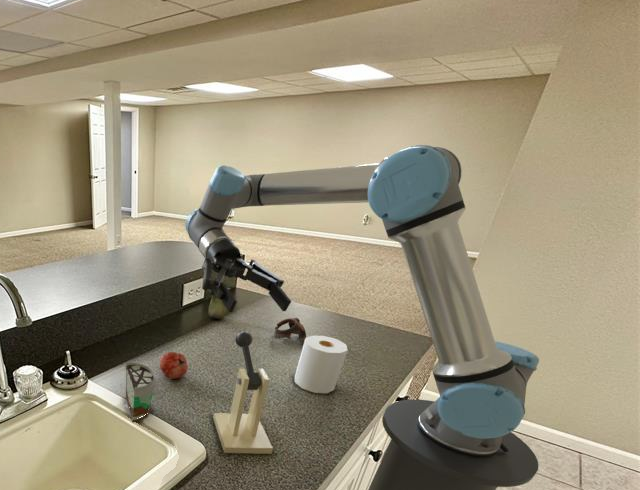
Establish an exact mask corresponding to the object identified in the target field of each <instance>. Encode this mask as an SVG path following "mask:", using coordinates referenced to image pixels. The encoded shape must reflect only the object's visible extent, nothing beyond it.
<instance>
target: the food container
mask: <svg viewBox="0 0 640 490" xmlns="http://www.w3.org/2000/svg"><path fill="white" fill-rule="evenodd" d="M157 385H158V382H157V376H156V374H155V372H154V370H153V369H152V368H150V367H149V366H147V365H145V364H142V363H140V362H139V363H138V362H132V361H131V362H130V361H127V362H126V363H125V402H126V405H127V409H128V413H129V415H130V420H131V423H138V422H141V421H143V420H145V419H146V418H148V417H149V415H150V412H151V405H152V399H153V395H154V391H155V389H156V388H157ZM129 407H130V408H129ZM147 413H148V414H147ZM145 414H146V415H145ZM144 415H145V416H144ZM141 416H143V417H141ZM139 417H141V418H139ZM137 418H138V419H137Z"/></svg>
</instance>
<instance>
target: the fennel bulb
mask: <svg viewBox="0 0 640 490" xmlns="http://www.w3.org/2000/svg"><path fill="white" fill-rule="evenodd" d="M227 288H228V289H229V291H230V290H231V288H229V287H227ZM230 292H231V291H230ZM227 311H228V310H227V308H226V307H225V305H224V304H223V302H222V301H221V299H218V298H217V296H216V295H215V294H214V295H211V299H210V302H209V305H208V316H209V317H210V318H212V319H215V320H221V319H224V318H225V316H226V312H227Z"/></svg>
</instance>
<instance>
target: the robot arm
mask: <svg viewBox="0 0 640 490" xmlns="http://www.w3.org/2000/svg"><path fill="white" fill-rule="evenodd" d="M461 179H462V165H461V162H460V160H459V158H458V157H457V156H456V154H454V153H453V152H452V151H451V150H448V149H447V148H444V147H439V146H432V145H427V144H417V145H413V146H409V147H406V148H404V149H400V150H399V151H396V152H395V153H393V154H391V155H390V156H389V157H388V156H387V157H385V158H384V159H382V160H381V161H380V162H379V163H370V164H359V165H348V166H347V165H346V166H338V167H327V168H326V167H325V168H316V169H315V168H314V169H303V170H292V171H284V172H283V171H282V172H272V173H260V174H247V175H245V173H243V172H242V171H241V170H239V169H237V168H234V167H232V166H227V165H219V166H217V167H216V169H215V171H214V173H213V174H212V177H211V179H210V180H209V182H208V183H209V184H208V185H207V188H206V191H205V193H204V195H203V198H202V200H201V203H200V205H199V207H198V208H197V209H195V210H193V211H191V212H190V214H189V215H188V216H187V218H186V219H185V224H184V225H185V226H184V227H185V231H186V233H187V235H188V237H189V239H190V240H191V241H192V242H193V244H194V245H195V246H196V247H197V249H198V250H199V252H200V253H201V255H202V257H203V258H204V261H203V262H202V266H201V269H202V272H203V275H202V286H201V289H202V290H203V291H208V290H209V295H211V296H212V295H214V294H215V295H216V296H217V298H218V299H221V301H222V302H223V304H224V305H225V307H226V308H227V310H226V311H227V312H228V313H233V311H234V309H235V307H236V305H237V302H238V301H237V299H236V298H235V297H234V295H233V294H232V292H231V291H229V289H228V288H229V287H227V285H226V283H225V282H223V280H224V279H225V277H228V278H230V279H231V278H239V279H241V280H243V281H249V282H251V283H253V284H255V285H257V286H258V287H261V288H263V289H264V290H266V291H268V295H269V296H270V298H271V299H272V300H273V301H274V302H275V303H276V305H277V306H278V307H279V308H280V310H281V311H282V312H287V309H288V308H289V306H290V305H291V303H292V300H291V299H290V298H289V296H288V295H287V294H286V291H284V290H283V287H282V286H283V285H284V283H285V280H284V279H282V278H281V277H279V276H278V275H276V274H275V273H274V272H272V271H271V270H268V269H267V268H265V267H264V266H262V265H261V264H260V263H258V262H257V260H255V259H250V261H249V262H246V261H245V260H244V259H242V255H241V251H240V249H239V247H238V246H237V245H236V243H234V241H233V239H232V238H231V237H230V236H229V235H228V234H227V232H225V230H224V229H223V227H224V225H225V224H226V222H227V220H228V218H229V216H230V214H231V212H232V210H235V209H240V208H247V207H267V206H294V205H295V206H296V205H297V206H298V205H323V204H324V205H329V204H331V205H332V204H360V203H361V204H363V203H368V205H369V207H370V209H371V210H372V212H373V213H374V214H375V215H376V216H377V217H378V218H379V219H381V220H382V224H383V226H384V230H385V232H386V236H387V238H388V239H389V240H391V241H395V242H397V243H399V244H400V246H401V250H402V253H403V256H404V259H405V261H406V265H407V267H408V270H409V273H410V277H411V279H412V284H413V286H414V289H415V292H416V295H417V298H418V301H419V304H420V308H421V310H422V313H423V317H424V319H425V322H426V326H427V328H428V329H427V330H428V332H429V334H430V335H429V336H430V338H431V342H432V344H433V347H434V350H435V354H436V357H437V359H438V360H437V362H436V363H435V365H433V367H432V368H431V369H432V370H431V371H432V375H433V378H434V382H435V384H436V387H437V391H438V394H439V397H438V398H437V399H436V400H434V401H435V402H434V403H432V404H431V405H430V406H429V407H428V408H427V409H426V410H425V411H423V413H422V414H421V415H420V417H419V419H418V421H417V426H418V428H419V430H420V431H421V432H422V433H423V434H424V435H425V436H426V437H427V438H428V439H430V440H431V441H433V442H434V443H436V444H438V445H440V446H441V447H444V448H446V449H448V450H450V451H453V452H456V453H459V454H462V455H466V456H472V457H490V456H493V455H495V454H496V453H497V451H498V449H499V448H501V449H502V450H503V451H504V452H508V451H509V450H508V449H507V448H506V447H505V446H504V445H503V444H502V443H501V441H502V436H503V435H506V434H508V433H510V432H513V431H514V430H515V429H517V428H518V427H519V425H520V424H521V422H522V420H523V419H524V417H525V414H526V407H525V404H526V395H527V385H528V382H529V380H530V379H531V377H532V375H533V374H534V372H536V371H537V369H538V365H539V363H540V358H539V357H538V356H537V355H536V354H535V353H533V352H531V351H529V350H527V349H524V348H521V347H518V346H515V345H512V344H508V343H505V342H500V341H498V340H497V341H496V340H495V337H494V334H493V331H492V328H491V325H490V321H489V319H488V315H487V312H486V308H485V305H484V303H483V299H482V295H481V292H480V289H479V286H478V283H477V280H476V277H475V273H474V271H473V267H472V265H471V260H470V257H469V254H468V251H467V248H466V245H465V241H464V237H463V234H462V232H461V229H460V226H459V221H460V218H462V215H463V214H464V213H465V211H466V208H467V207H466V205H465V202H464V198H463V195H462V191H461V188H460V182H461ZM246 270H247V271H246ZM213 272H215V273H216V274H217V276H216V277H215V278H214V280H212V277H213ZM245 272H246V273H245ZM244 274H245V275H244Z"/></svg>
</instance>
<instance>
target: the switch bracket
mask: <svg viewBox="0 0 640 490" xmlns="http://www.w3.org/2000/svg"><path fill="white" fill-rule="evenodd" d="M257 373H258V374H259V379H260V383H261V384H260V386H259V388H258V389H257V390H252V396H251V400H250V403H249V404H250V405H249V409H248V412H247V413H243V411H244V407H245V402H246V397H247V392H248V390H247V388H248V384H249V377H248V375H247V371H246V370H245V368H244V367H239V368H238V372H237V377H236V382H235V387H234V393H233V397H232V403H231V408H230V413H229V412H228V413H227V412H213V416H212V419H213V422H214V426H215V428H216V431H217V435H218V438H219V441H220V444H221V448H222V451H223V454H258V455H259V454H260V455H262V454H265V455H267V454H268V455H272V454H273V450H274V447H273V445H272V443H271V441H270V439H269V437H268V435H267V432H266V430H265V428H264V426H263V424H262V421H261V418H262V413H263V408H264V404H265V400H266V397H267V393H268V388H269V384H270V378H269V376H268V374H267V373H266V371H265V370H264V368H258V369H257Z"/></svg>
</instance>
